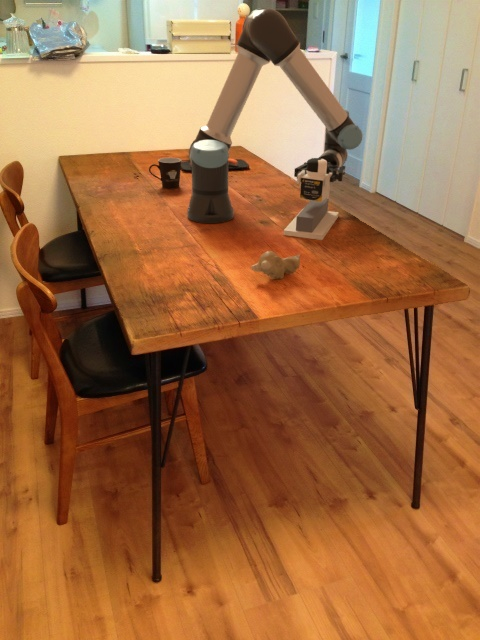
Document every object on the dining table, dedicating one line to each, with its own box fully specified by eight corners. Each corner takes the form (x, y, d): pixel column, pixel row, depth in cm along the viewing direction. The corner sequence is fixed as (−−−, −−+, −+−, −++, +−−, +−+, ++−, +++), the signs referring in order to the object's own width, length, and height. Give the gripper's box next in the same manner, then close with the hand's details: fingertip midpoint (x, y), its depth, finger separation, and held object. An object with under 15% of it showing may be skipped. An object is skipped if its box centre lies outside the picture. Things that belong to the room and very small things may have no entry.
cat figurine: (305, 254, 150) (267, 249, 144) (302, 282, 151) (263, 279, 144) (285, 253, 157) (248, 248, 151) (282, 280, 158) (245, 276, 151)
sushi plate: (183, 174, 245) (183, 165, 243) (171, 158, 271) (171, 149, 269) (251, 170, 252) (251, 161, 250) (233, 155, 278) (233, 147, 276)
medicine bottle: (299, 199, 183) (301, 160, 178) (308, 193, 189) (310, 155, 183) (321, 202, 181) (324, 163, 175) (329, 196, 186) (332, 158, 180)
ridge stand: (322, 240, 177) (323, 220, 174) (283, 234, 181) (284, 215, 178) (338, 216, 197) (339, 199, 194) (303, 212, 201) (304, 195, 198)
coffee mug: (183, 183, 230) (183, 157, 226) (179, 190, 223) (178, 163, 218) (154, 182, 231) (153, 156, 227) (149, 188, 224) (147, 162, 219)
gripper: (358, 178, 195) (345, 196, 176) (297, 172, 201) (278, 189, 182) (360, 155, 192) (347, 171, 173) (298, 150, 198) (279, 165, 179)
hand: (312, 180), depth 178 cm, fingers closed on medicine bottle, 8 cm apart
